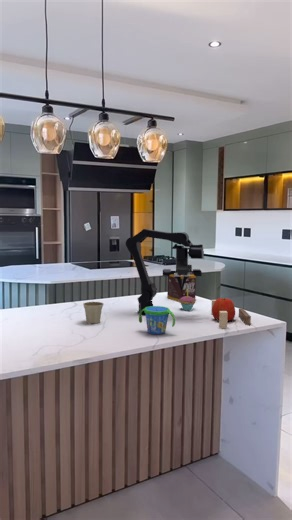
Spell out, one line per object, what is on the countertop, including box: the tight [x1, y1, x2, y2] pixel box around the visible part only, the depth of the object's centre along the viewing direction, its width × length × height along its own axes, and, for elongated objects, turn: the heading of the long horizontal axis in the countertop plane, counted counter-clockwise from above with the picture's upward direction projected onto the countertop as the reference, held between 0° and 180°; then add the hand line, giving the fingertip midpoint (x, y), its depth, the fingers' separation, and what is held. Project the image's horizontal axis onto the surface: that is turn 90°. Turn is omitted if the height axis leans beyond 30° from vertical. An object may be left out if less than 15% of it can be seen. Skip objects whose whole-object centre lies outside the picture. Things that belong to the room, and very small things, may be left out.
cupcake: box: [178, 289, 196, 311], centre depth 205 cm, size 9×8×12 cm
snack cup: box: [138, 305, 176, 335], centre depth 162 cm, size 16×10×10 cm
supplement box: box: [166, 274, 197, 303], centre depth 231 cm, size 10×15×16 cm
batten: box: [238, 308, 252, 326], centre depth 182 cm, size 2×16×4 cm, turn 178°
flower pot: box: [82, 301, 104, 325], centre depth 178 cm, size 9×9×9 cm
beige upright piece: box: [211, 299, 228, 329], centre depth 182 cm, size 3×28×7 cm, turn 178°
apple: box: [211, 297, 236, 322], centre depth 183 cm, size 11×11×11 cm
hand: (181, 290), depth 189 cm, fingers closed
